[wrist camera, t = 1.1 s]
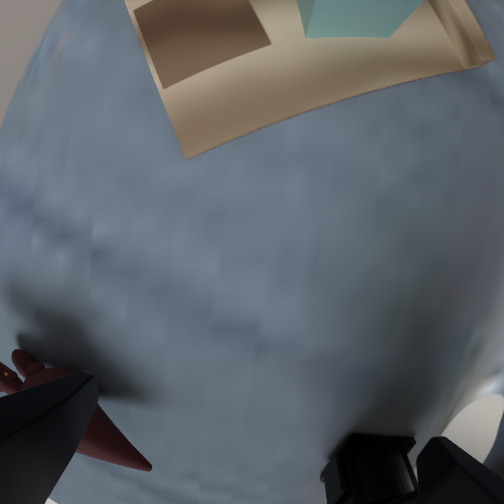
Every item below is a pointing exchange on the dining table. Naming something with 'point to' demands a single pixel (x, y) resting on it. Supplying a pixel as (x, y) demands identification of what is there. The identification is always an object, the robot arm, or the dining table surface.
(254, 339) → the dining table surface
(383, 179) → the dining table surface
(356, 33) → the block
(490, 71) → the dining table surface
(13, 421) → the robot arm
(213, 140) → the tan tray
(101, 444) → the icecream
